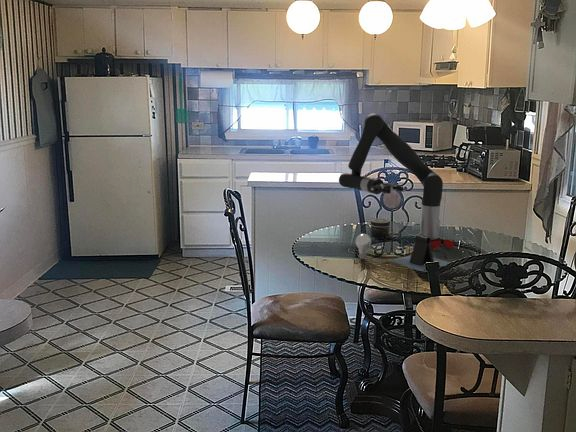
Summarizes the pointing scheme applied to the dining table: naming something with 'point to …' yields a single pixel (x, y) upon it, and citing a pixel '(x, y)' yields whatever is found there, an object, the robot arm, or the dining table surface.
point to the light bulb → (363, 245)
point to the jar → (380, 227)
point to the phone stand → (421, 251)
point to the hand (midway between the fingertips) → (396, 190)
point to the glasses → (446, 243)
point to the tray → (406, 263)
